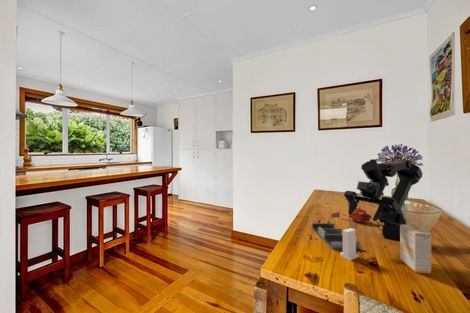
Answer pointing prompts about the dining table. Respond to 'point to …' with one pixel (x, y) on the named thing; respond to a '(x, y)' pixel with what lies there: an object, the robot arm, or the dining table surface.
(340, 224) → the dining table surface
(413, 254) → the supplement box
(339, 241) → the rack
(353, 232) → the white pedestal column
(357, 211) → the dragon fruit
